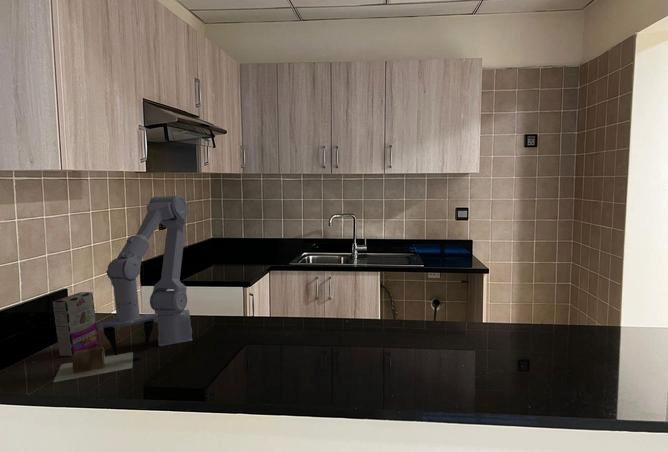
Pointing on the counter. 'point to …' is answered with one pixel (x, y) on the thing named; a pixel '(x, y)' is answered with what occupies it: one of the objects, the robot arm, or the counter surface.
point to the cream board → (110, 365)
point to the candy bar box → (75, 323)
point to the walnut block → (88, 360)
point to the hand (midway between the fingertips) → (131, 351)
